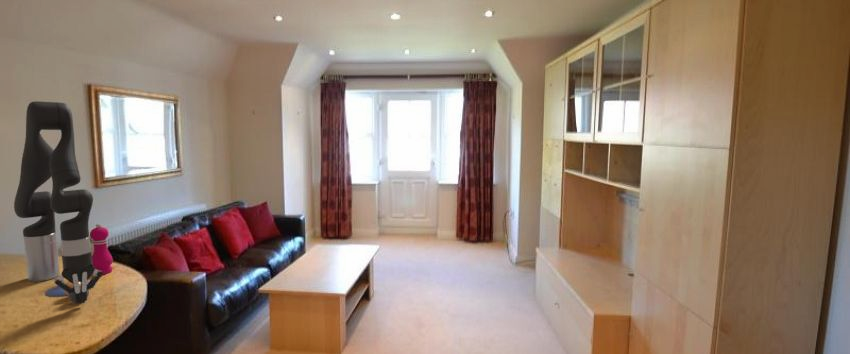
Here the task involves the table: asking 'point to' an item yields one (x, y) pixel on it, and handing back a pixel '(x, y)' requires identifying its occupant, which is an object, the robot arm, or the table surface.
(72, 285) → the object ball
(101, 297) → the table surface
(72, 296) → the gray ball
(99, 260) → the pepper mill
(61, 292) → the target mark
